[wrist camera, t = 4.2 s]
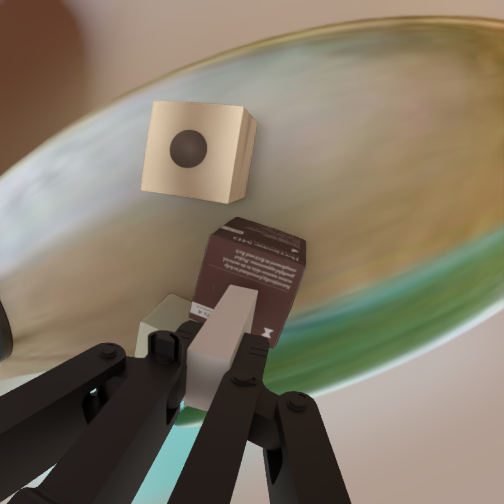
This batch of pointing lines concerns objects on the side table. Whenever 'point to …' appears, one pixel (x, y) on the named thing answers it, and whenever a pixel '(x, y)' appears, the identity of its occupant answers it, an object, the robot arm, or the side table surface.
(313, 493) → the robot arm
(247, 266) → the box
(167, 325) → the sage block partly covered
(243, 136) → the beech block marked
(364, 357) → the side table surface
